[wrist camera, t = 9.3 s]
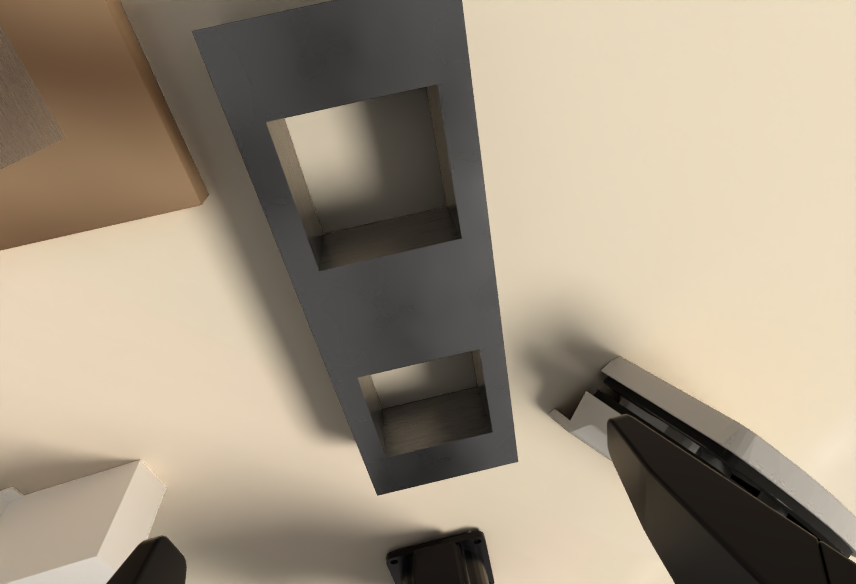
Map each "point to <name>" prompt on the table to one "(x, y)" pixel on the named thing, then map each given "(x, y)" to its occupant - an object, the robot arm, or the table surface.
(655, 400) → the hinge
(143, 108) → the walnut pad
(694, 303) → the table surface
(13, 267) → the table surface
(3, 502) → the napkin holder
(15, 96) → the steel plug
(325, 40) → the grey cinder block
